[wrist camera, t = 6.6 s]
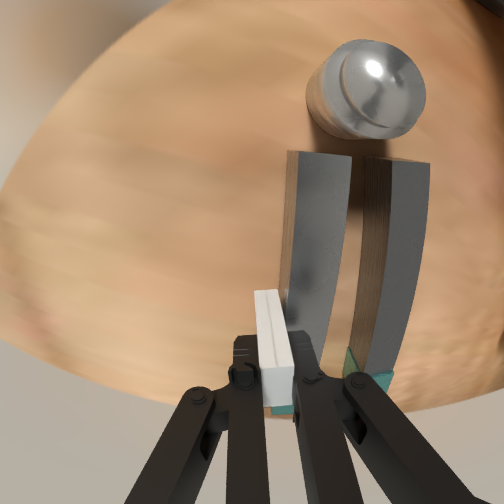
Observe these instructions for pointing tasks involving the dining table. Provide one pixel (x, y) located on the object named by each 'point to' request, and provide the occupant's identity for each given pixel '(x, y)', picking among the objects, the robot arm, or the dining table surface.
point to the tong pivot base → (377, 227)
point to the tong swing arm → (336, 189)
